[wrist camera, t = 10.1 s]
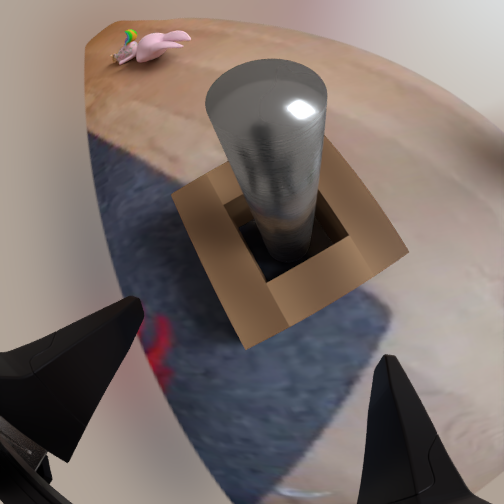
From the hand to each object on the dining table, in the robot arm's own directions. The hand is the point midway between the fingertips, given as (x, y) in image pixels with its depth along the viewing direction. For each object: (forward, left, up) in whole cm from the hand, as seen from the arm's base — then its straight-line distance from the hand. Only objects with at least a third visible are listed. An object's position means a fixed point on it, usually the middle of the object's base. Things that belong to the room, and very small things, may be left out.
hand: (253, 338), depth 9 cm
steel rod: (+4, +5, -8) cm, 10 cm away
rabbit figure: (+2, +35, -9) cm, 36 cm away
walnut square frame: (+4, +5, -8) cm, 10 cm away
